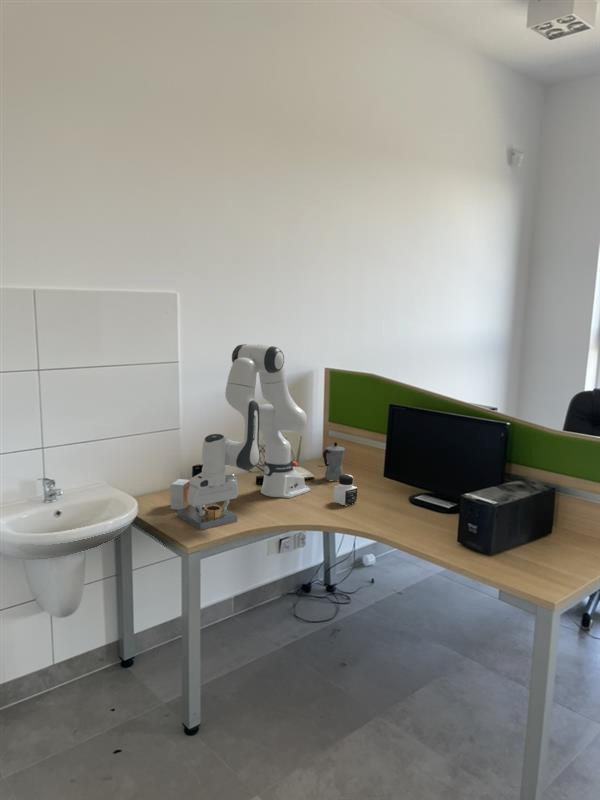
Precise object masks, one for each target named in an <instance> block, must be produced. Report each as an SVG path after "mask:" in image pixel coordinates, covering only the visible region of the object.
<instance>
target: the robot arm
mask: <svg viewBox="0 0 600 800" xmlns="http://www.w3.org/2000/svg"><path fill="white" fill-rule="evenodd" d="M231 363H232V364H231V367H230V370H229V373H228V377H227V381H226V382H227V383H226V387H225V399H226V401H227V403H228V405H230V406H231V407H232V408H233V409H234V410H235V411H237V412H239V413H240V414H241V415H242V416H243V419H244V439H243V440H244V441H243V442H242V441H235V440H233V439H228V438H227V437H225V436H224V435H223V434H220V433H212V434H209V435H207V436H206V437H204V438H203V441H202V442H203V443H202V449H201V450H202V451H201V461H202V467H201V472H199V473H198V474H196V475H194V476H193V477H191V478H189V480H190V484H191V486H190V487H189V489H188V503H189V506H190V507H192V506H193V507H195V506H197V508H198V510H199V514H200V516H205V511H204V510H202V508H203V505H205V504H210V503H215V504H216V503H219V502H224V503H223V504H222V505H220V506H221V507H222V508H223V511H227V510H228V506H229V504H230V500H234V499H237V498H238V496H239V490H238V489H239V488H238V477H237V475H235V474H229V475H228V474H227V473H226V472H227V470H226V466H230V467H235V468H238V469H241V470H244V471H247V472H248V471H250V470H253V469H254V468H255V467H256V466H257V465H258V464H259V462H260V457H261V454H260V446H259V445H260V444H259V443H260V441H259V440H260V434H261V436H262V439H263V442H264V452H265V453H264V458H265V459H264V461H263V474H264V475H263V481H262V486H261V489H260V493H261V494H262V495H264V496H266V497H271V498H272V497H273V498H283V499H286V498H287V499H291V498H293V497H297V496H300V495H303V494H305V493H308V492H310V491H311V488H310V487H309V486H307V485H306V483H305V481H306V480H305V477H304V476H303V475H302V474H300V473H299V472H298V471H296V470H295V469H294V467H295V468H296V467H298V465H299V464H298V462H296V461H291V451H292V449H291V448H292V447H291V446H292V445H291V443H290V441H289V440H287V439H286V438H285V437H284V435H283V434H282V433H281V432H284V433H285V432H287V433H299V432H300V433H301V432H302V431H303V430H305V428H306V427H307V423H308V415H307V413H306V412H305V411H304V410H303V409H302V408H301V407H300V406H299V405H297V403H296V402H295V401H294V399H293V398H292V396H291V394H290V392H289V387H288V382H287V375H286V371H285V367H284V366H285V365H284V364H285V355H284V353H283V351H282V349H280V348H279V347H277V346H273V345H272V346H269V345H265V344H246V343H245V344H238V345H237V346H236V347H234V348H233V351H232V354H231ZM257 374H258V377H259V384H260V390H261V395H262V397H263V399H264V400H265V401H266V402H268V403H264V404H258V402H257V401H256V396H255V391H256V385H257V384H256V383H257Z"/></svg>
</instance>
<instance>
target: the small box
mask: <svg viewBox="0 0 600 800" xmlns="http://www.w3.org/2000/svg"><path fill="white" fill-rule="evenodd" d="M191 485H192V484H190V479H183V478H177V479H176V480H175V481H174V482H172V483H170V510H174V511H175V510H176V511H177V510H178V509H183V508H188V507H190V505H189V503H188V489H189V487H190V486H191Z"/></svg>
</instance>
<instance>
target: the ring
mask: <svg viewBox="0 0 600 800" xmlns="http://www.w3.org/2000/svg"><path fill="white" fill-rule="evenodd" d="M218 505H219V504H217V505H210V506H206V507H205V508H204V511H205V516H204V517H206V518H208V519H217V518H221V517H222V515H223V508H222V507H221V506H222V505H219V506H218Z"/></svg>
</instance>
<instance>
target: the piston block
mask: <svg viewBox="0 0 600 800" xmlns="http://www.w3.org/2000/svg"><path fill="white" fill-rule="evenodd" d="M210 505H218V506H220V505H219V504H218V503H216V502H215V503H210V504H205V505H203V508H202V510H204V508H205V507H206V506H210ZM176 513H177V514H176V516H177V517H179V518H180V519H182V520H183V521H185V522H186V523H188V524H190V525H191V526H193V527H195V528H196V529H197V530H200V531H203V530H207V529H212V528H215V527H220V526H223V525H229V524H232V523H237V522H238V517H239V515H238V514H236V513H234V512H233V511H230V509H229V510H228V509H227V511H223V515H222V517H221V518H217V519H208V518H206V517H204V516H200V514H199V510H198V508H197V506H195V507H193V506H188V507H187V508H183V509H178V510H176Z"/></svg>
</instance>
